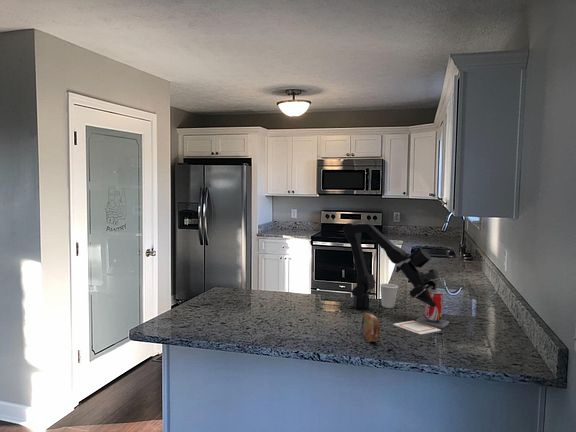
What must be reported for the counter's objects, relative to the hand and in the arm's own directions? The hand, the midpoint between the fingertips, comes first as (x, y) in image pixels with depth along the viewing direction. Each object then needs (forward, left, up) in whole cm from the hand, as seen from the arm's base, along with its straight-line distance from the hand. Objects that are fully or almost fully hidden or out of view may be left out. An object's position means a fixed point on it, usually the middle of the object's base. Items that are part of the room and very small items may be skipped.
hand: (437, 305), depth 186 cm
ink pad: (-1, +1, -8) cm, 8 cm away
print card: (-12, -3, -8) cm, 14 cm away
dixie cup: (-4, +30, -8) cm, 31 cm away
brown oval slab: (-37, -11, -8) cm, 40 cm away
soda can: (-1, +2, -7) cm, 7 cm away
